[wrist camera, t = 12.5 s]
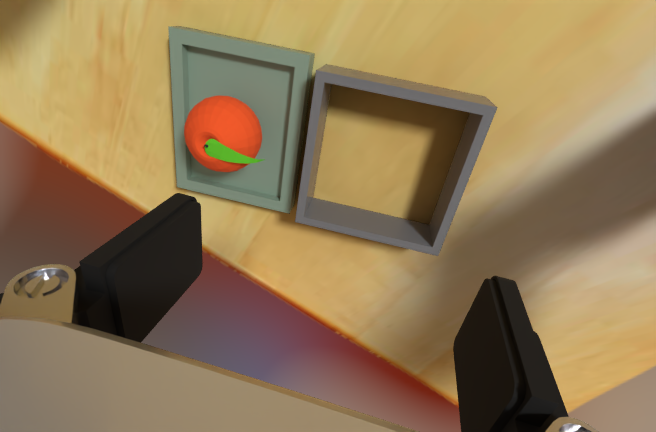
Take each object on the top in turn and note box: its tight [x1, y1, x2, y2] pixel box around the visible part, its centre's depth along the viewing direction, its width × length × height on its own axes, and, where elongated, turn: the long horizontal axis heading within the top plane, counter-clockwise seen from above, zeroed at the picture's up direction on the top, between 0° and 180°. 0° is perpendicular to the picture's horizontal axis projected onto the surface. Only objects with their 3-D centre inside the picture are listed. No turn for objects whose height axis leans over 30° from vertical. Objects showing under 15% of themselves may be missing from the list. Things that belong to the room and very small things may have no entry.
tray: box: [169, 26, 315, 214], centre depth 36 cm, size 13×16×2 cm
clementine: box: [184, 95, 265, 172], centre depth 33 cm, size 8×7×7 cm
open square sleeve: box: [295, 64, 497, 256], centre depth 34 cm, size 15×15×4 cm
